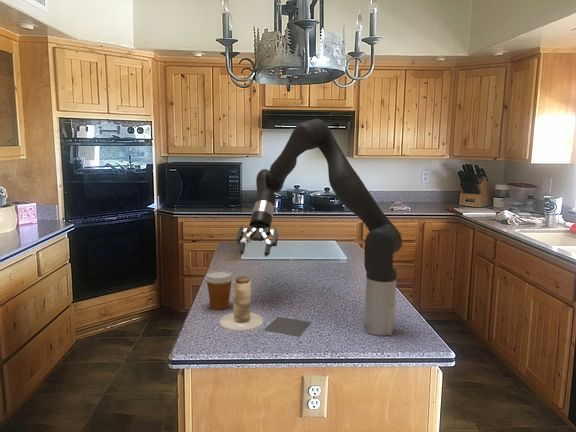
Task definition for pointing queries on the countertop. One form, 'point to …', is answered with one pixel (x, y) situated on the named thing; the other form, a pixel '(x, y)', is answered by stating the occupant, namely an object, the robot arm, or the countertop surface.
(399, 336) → the countertop surface
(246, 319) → the pepper mill
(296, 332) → the mat
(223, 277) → the disposable coffee cup
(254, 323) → the plate
